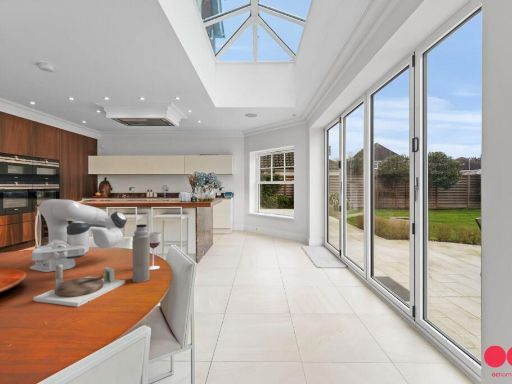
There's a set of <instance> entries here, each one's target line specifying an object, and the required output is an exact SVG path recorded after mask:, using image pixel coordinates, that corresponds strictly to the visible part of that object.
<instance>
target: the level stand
mask: <svg viewBox="0 0 512 384" xmlns="http://www.w3.org/2000/svg"><path fill="white" fill-rule="evenodd" d="M103 274H104V275H106V277H105V278H104V279H102V280H103V287H102V288H101V289H99V290H98V291H95V292H93V293H89V294H85V295H80V296H72V297H63V296H58V295H56V294H55V288H54V289H51V290H48V291H46V292H43V293H42V294H39V295H36V296H34V297H33V302H39V303H46V304H55V305H61V306H62V305H63V306H67V307H68V306H69V307H76V308H79V307H80V306H82V305H84V304H86V303H89V302H91V301H92V300H95V299H97V298H99V297H100V296H103V295H105V294H107V293H108V292H110V291H113V290H115V289H117V288H119V287H121V286H123V285H126V284H125V283H126V280H123V279H115V269H114V268H111V267H108V266H107V267H103ZM89 277H90V276H86V277H84V278H89ZM92 277H93V276H92ZM93 278H97V277H93ZM88 301H89V302H88Z"/></svg>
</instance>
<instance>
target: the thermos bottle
mask: <svg viewBox="0 0 512 384" xmlns="http://www.w3.org/2000/svg"><path fill="white" fill-rule="evenodd" d="M147 227H148V226H147V224H136V229H135V230H134V233H133V236H132V274H131V275H132V277H131V278H132V282H134V283H144V282H146V281H149V280H150V270H149V267H150V266H151V265H150V263H151V262H150V257H151V256H150V255H151V254H150V251H151V247H150V235H148V233H150V232H149V230H147Z"/></svg>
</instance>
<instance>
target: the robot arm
mask: <svg viewBox="0 0 512 384" xmlns="http://www.w3.org/2000/svg"><path fill="white" fill-rule="evenodd" d="M39 213H40V215H41V216H43V218H44V220H45V223H46V225H47V229H48V230H47V231H48V243H47V244H42V245H36V246H35V248H33V250H32V252H31V261H33V262H35V263H34V264H33V265H31V266H29V269H30V270H32V271H33V270H34V271H37V272H43V273H49V272H56V265H63V271H65V270H70V269H73V268H74V267H76V261H75V259H79V258H82V257H84V256H85V255H87V254H88V253H89V249H90V247H89V246H90V245H89V244H90V232H91V233H92V237H93V239H92V240H93V243H94V244H95V245H96V246H97V247H98V248H100V249H109V248H112V247H114V246H117V245H119V244H120V243H121V242H122V241H123V239H124V234H123V232H122V231H121V230H122V229H123V228H125V225H126V223H127V221H128V220H127V217H126V216H125V214H123V213H122V212H119V211H115V212H113V213H112V214H111V215H109V216H108V213H107V212H106V211H105V210H103V209H101V208H98V207H96V206H92V205H88V204H83V203H80V202H78V201H76V200H72V199H62V198H61V199H58V198H57V199H55V198H53V199H51V198H50V199H47V200H44V201H43V202H41V203H40V205H39ZM69 221H72V222H70V223H69Z"/></svg>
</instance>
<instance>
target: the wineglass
mask: <svg viewBox="0 0 512 384" xmlns="http://www.w3.org/2000/svg"><path fill="white" fill-rule="evenodd" d="M148 235H150V249H152V262H151V263H152V265H150V267H149V271H150V270H158V269H160V268H161V267H160V265H155V248H158V247H159V246H160V243H161V237H162V233H161V232H155V231H154V232H153V231H152V232H149V233H148Z"/></svg>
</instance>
